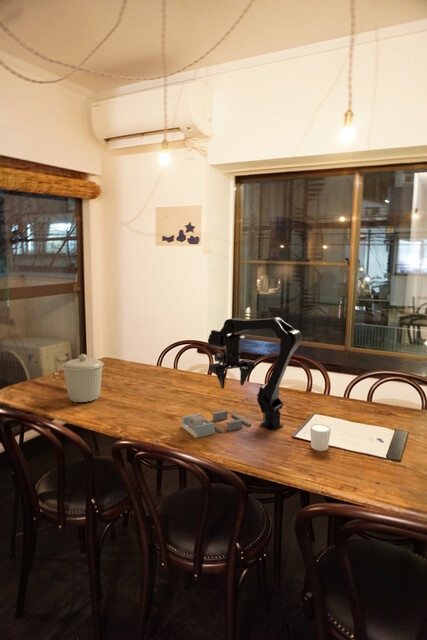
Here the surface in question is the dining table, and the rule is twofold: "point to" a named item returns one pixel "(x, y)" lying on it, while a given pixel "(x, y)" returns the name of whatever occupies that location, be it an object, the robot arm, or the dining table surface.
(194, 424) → the usb wall charger
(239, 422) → the blocks
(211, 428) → the drawer
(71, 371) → the canister
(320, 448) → the shot glass
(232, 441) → the dining table surface
